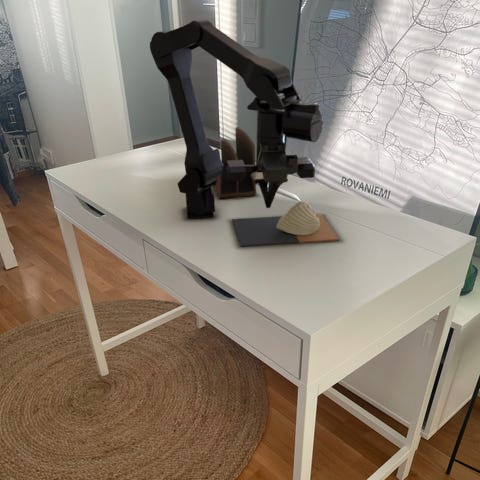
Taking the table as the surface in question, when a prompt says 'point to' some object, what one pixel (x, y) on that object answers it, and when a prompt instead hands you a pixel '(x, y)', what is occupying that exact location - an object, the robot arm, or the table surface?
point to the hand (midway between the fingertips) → (267, 207)
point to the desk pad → (277, 232)
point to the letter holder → (243, 152)
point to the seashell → (299, 220)
